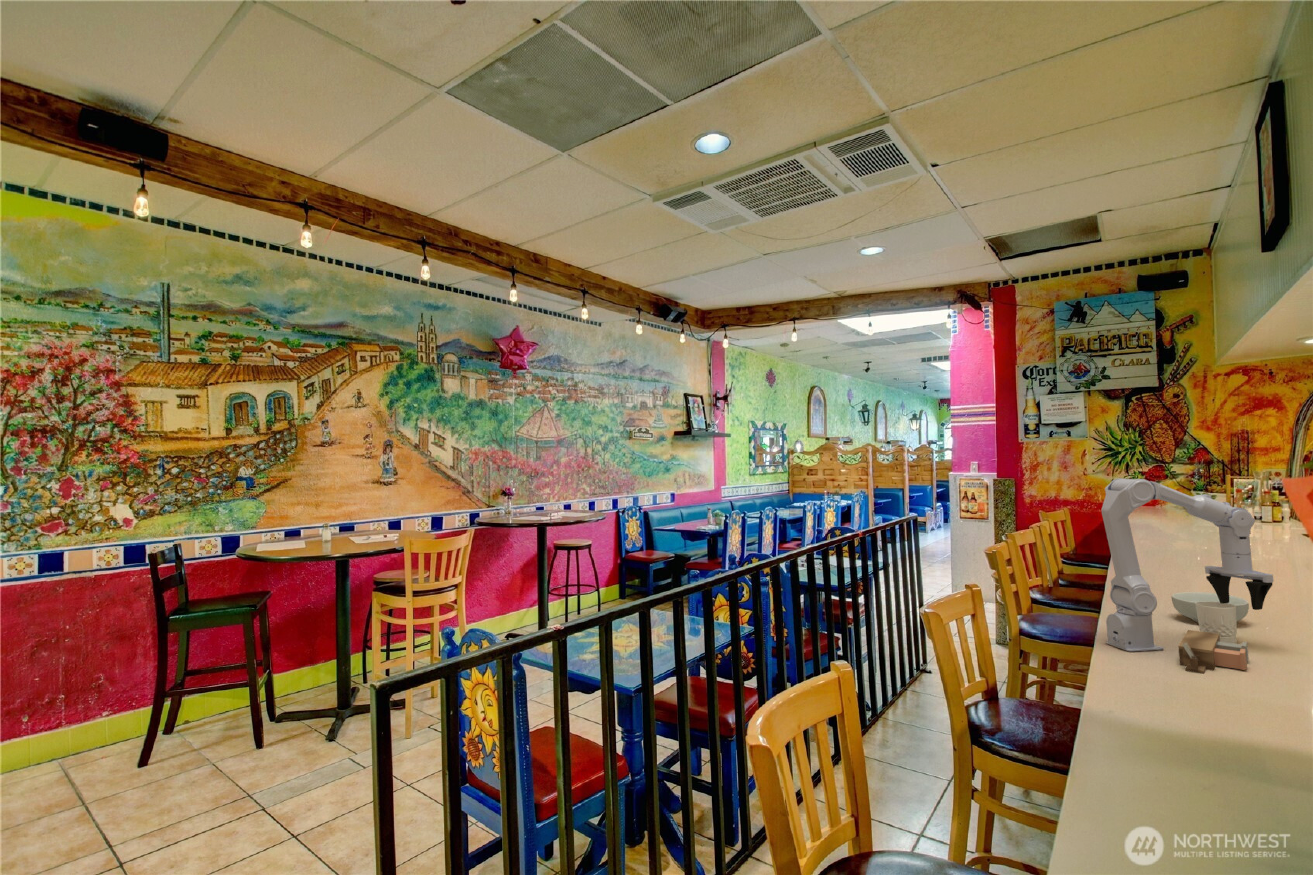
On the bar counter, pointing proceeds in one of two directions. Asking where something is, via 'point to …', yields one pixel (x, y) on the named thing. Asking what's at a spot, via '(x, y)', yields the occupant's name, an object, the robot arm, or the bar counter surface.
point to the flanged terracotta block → (1230, 658)
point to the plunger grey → (1233, 647)
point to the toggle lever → (1189, 651)
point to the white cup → (1218, 619)
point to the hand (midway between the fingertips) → (1240, 606)
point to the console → (1199, 650)
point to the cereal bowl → (1187, 600)
